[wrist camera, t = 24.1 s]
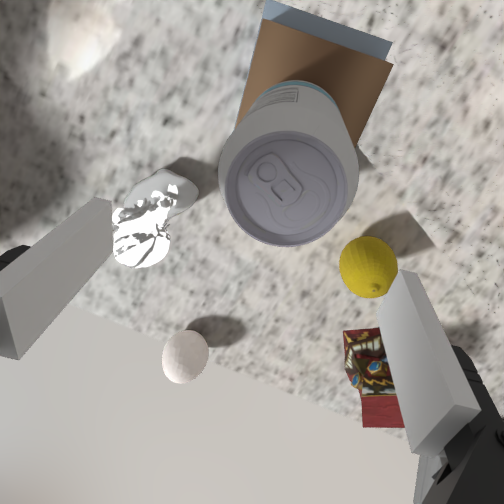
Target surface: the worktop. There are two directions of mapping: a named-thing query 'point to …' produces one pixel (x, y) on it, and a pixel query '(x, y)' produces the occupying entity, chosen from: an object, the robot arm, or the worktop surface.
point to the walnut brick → (316, 72)
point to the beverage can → (289, 166)
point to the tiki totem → (372, 378)
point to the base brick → (324, 31)
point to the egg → (185, 356)
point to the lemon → (368, 266)
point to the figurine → (150, 217)
